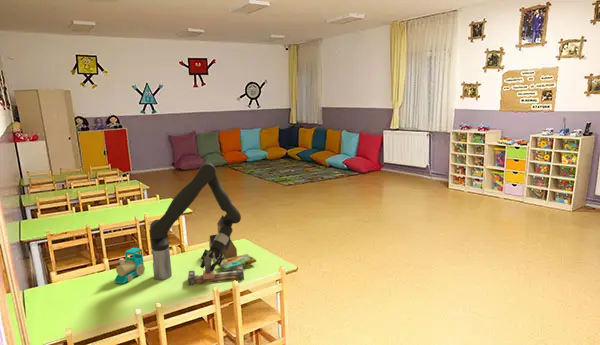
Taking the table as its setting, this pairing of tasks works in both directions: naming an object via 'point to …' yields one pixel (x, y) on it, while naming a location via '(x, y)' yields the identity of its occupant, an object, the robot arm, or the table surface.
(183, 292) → the table surface
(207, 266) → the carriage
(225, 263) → the puzzle game
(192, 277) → the rail bed
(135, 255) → the toy train
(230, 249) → the toy building blocks
